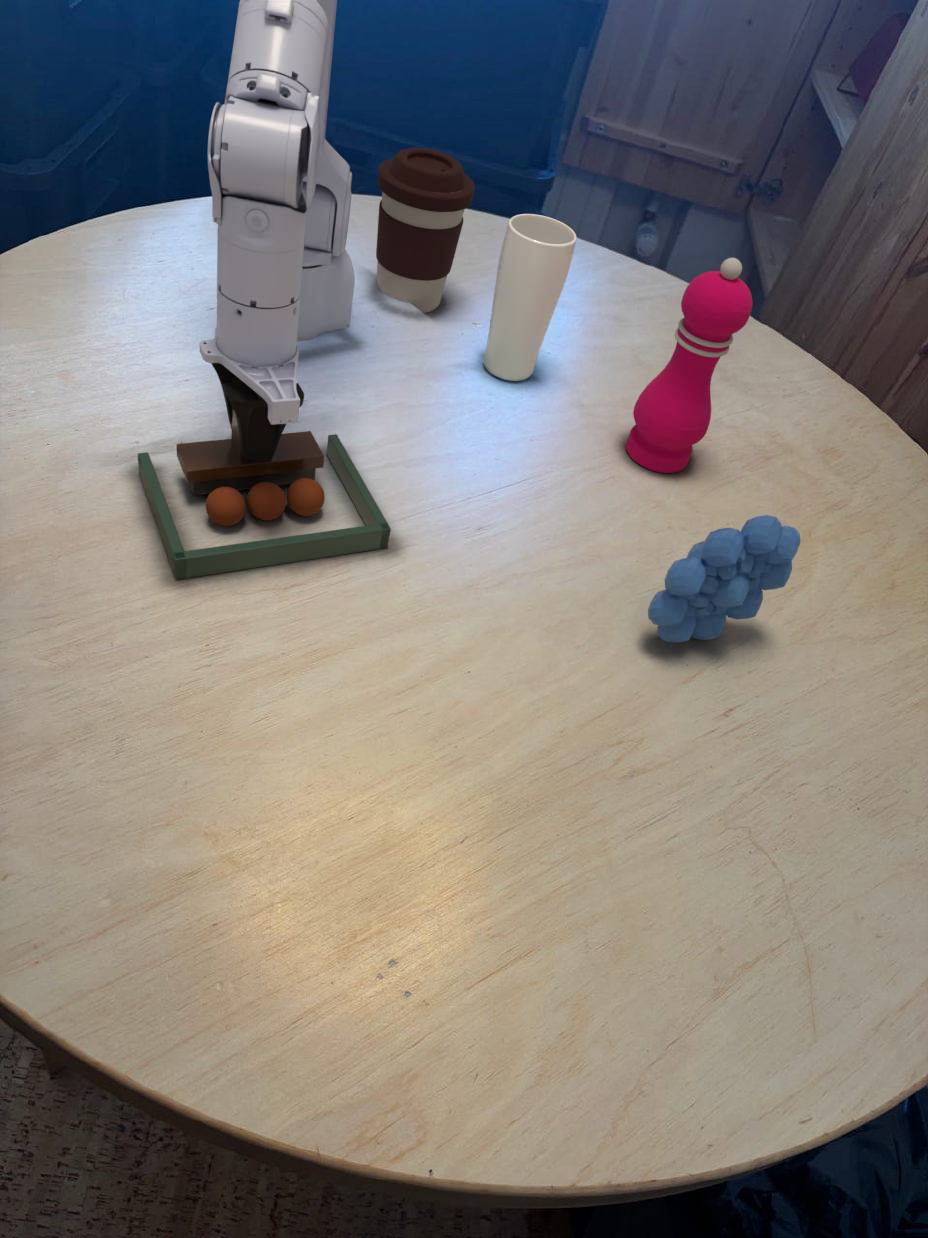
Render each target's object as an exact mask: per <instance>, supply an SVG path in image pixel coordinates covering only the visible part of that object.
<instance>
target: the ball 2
mask: <svg viewBox="0 0 928 1238" xmlns="http://www.w3.org/2000/svg"><path fill="white" fill-rule="evenodd" d="M325 499H326V495H325V491H324V489H323V486H322V485H321V484H320V483H319V482H318V481H316V479H315V480H313V479H309V478H301V479H298V480H296V481H294V482H293V483H292V484H289V487H288V489H287V491H286V503H287V504H288V506H289V508H290V509H291V510H292V511H293V512H294V513H295V514H297V515H299V516H304V517H310V516H313V515H316V514H317V513H318V512H320V511H321V509H322V508H323V506H324V504H325Z"/></svg>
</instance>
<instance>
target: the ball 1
mask: <svg viewBox="0 0 928 1238" xmlns="http://www.w3.org/2000/svg"><path fill="white" fill-rule="evenodd" d="M246 509H247V503H246V500H245V498H244V496H243V495H242V493H241V492H240V491H239V490H236V489H233V488H231V487H220V488H217V489H215V490H214V491H212V492H211V493H209V494H208V495H207V498H206V501H205V511H206V513H207V515H208V518H209V519H210V520H211V521H212V522H213V523H215V524H217V525H219V526H223V527H230V526H234V525H236V524H238V523H239V522H240V521H241V520H242V519H243V517H244V516H245V514H246Z"/></svg>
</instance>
